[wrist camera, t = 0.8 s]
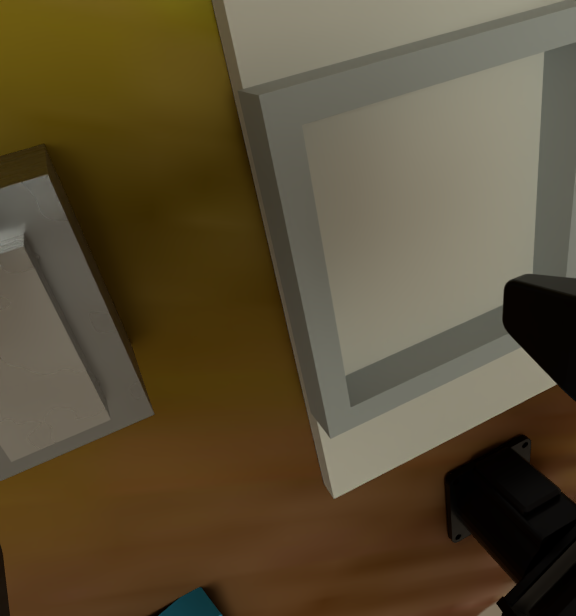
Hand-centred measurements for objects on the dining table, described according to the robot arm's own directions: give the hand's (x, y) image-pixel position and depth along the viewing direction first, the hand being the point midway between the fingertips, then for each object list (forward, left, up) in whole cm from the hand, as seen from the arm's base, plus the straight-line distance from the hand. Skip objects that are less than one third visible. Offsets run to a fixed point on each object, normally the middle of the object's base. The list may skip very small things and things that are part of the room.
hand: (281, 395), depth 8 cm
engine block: (-1, +5, -13) cm, 14 cm away
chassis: (-4, -15, -13) cm, 20 cm away
